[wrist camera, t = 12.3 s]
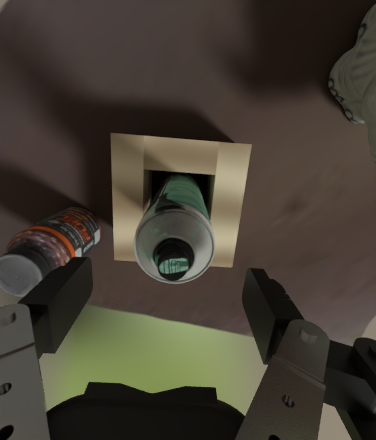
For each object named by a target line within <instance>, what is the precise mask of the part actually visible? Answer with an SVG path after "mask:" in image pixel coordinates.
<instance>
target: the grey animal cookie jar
mask: <svg viewBox="0 0 376 440" xmlns="http://www.w3.org/2000/svg"><path fill="white" fill-rule="evenodd" d="M328 86H329V88H330V91H331V93H332V94H333V95H334V96H335V97H336V99H337V100H338V101H339V103H340V104H341V105H342V106H343V108H344V110H345V114H346V116H347V117H348V118H349V119H350V121H351V122H353V123H356V124H358V123H365V124H366V126H367V127H368V139H369V146H370V152H371V155H372V158H373V160H374V162H375V163H376V3H375V4H374V5H373V6H372V8H371V9H370V10H369V11H368V12H367V14H366V16H365V17H364V19H363V21H362V23H361V26H360V29H359V31H358V39H357V42H356V45H355V46H354V47H353V48H352V49H351V50H349V51H348V52H346V53H345V54H343V55H342V57H341V58H340V59H339V60H338V61H337V62H336V63H335V65H334V67H333V68H332V70H331V73H330V77H329V85H328Z"/></svg>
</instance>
